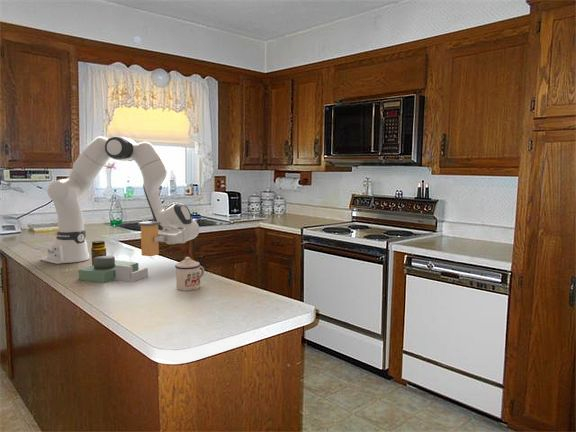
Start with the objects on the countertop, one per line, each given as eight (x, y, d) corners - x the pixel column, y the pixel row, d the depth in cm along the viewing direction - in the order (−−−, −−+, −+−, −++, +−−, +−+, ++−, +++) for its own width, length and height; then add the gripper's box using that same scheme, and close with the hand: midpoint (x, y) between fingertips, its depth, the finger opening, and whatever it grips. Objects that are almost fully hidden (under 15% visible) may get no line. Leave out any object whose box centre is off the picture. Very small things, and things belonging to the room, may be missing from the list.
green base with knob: (78, 279, 179) (77, 259, 179) (114, 269, 197) (113, 251, 196) (121, 285, 170) (120, 264, 170) (155, 274, 188) (154, 255, 187)
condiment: (109, 268, 197) (108, 242, 196) (88, 271, 193) (87, 244, 191) (105, 265, 203) (104, 239, 202) (85, 268, 199) (84, 241, 197)
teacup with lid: (186, 292, 161) (185, 261, 160) (170, 288, 167) (169, 257, 165) (211, 285, 170) (211, 255, 169) (196, 281, 176) (195, 252, 174)
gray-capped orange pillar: (139, 255, 190) (137, 222, 188) (149, 252, 196) (148, 220, 194) (151, 256, 187) (150, 223, 185) (161, 254, 193) (160, 221, 191)
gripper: (154, 225, 206) (130, 229, 194) (188, 229, 197) (165, 233, 185) (154, 239, 207) (131, 243, 195) (188, 243, 197) (166, 248, 185)
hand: (148, 238), depth 190 cm, fingers closed on gray-capped orange pillar, 5 cm apart
